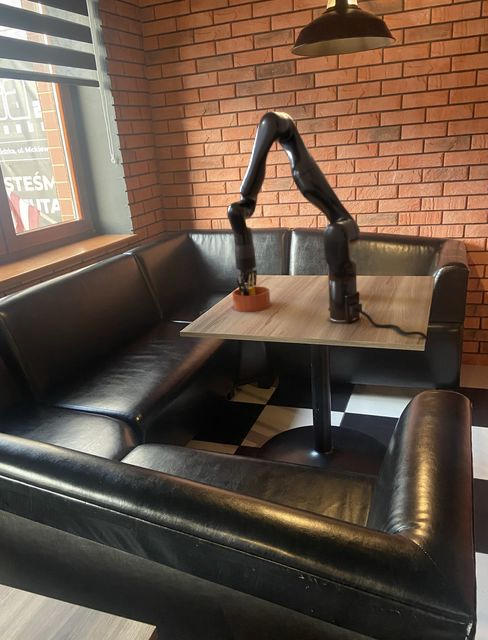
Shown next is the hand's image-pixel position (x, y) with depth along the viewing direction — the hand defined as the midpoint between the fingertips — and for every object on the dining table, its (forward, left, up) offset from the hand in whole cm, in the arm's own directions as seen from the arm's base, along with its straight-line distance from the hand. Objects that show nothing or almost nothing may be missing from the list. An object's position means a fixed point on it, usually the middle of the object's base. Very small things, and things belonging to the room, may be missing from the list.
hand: (249, 299), depth 207 cm
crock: (0, -1, -3) cm, 3 cm away
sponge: (0, 0, -2) cm, 2 cm away
